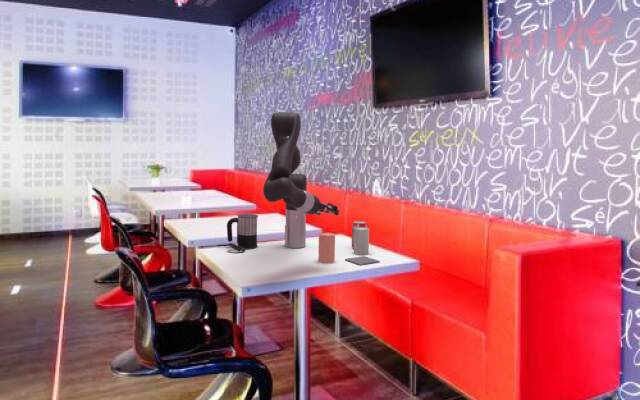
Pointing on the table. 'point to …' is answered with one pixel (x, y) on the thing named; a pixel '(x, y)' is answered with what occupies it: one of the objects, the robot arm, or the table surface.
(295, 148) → the robot arm
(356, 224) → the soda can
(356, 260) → the mat
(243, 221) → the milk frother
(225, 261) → the table surface
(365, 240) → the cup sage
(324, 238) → the cup terracotta
